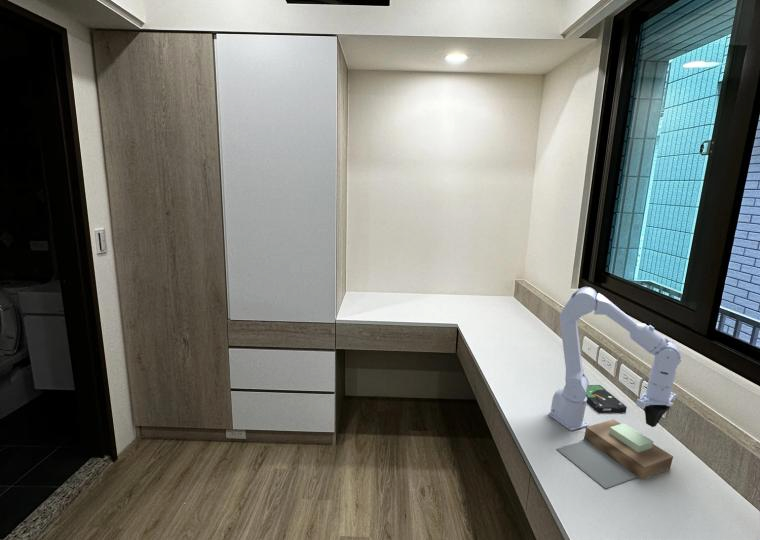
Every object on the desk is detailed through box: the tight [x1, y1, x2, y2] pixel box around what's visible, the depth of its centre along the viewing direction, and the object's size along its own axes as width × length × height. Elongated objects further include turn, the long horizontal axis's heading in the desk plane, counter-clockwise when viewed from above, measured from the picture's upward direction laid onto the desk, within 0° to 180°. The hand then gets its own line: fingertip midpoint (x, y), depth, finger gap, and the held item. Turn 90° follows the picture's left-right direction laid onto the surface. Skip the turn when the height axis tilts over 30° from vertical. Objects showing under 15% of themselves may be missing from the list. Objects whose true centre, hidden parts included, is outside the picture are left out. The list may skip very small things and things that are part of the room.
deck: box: [583, 419, 674, 480], centre depth 117 cm, size 18×12×4 cm, turn 23°
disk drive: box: [586, 384, 628, 414], centre depth 145 cm, size 10×3×15 cm
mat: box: [556, 439, 638, 490], centre depth 112 cm, size 16×12×1 cm
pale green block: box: [609, 423, 654, 452], centre depth 117 cm, size 9×6×2 cm, turn 23°
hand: (650, 424), depth 119 cm, fingers closed
